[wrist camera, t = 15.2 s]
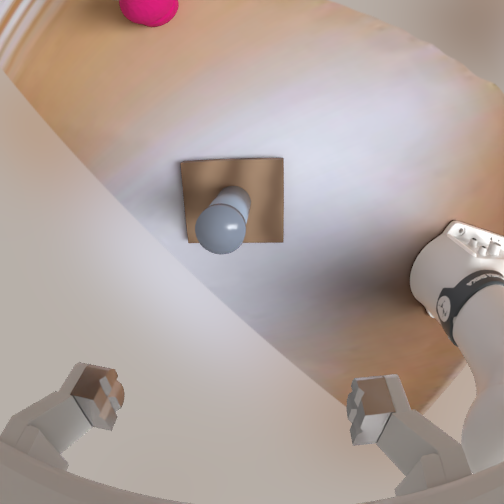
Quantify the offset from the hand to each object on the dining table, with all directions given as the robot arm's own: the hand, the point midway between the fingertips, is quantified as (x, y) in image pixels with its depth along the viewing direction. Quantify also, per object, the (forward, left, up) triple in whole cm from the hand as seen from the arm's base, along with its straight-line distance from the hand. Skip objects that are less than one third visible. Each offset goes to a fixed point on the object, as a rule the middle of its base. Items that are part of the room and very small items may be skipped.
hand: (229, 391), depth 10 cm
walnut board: (+4, +4, -37) cm, 38 cm away
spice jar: (+4, +4, -35) cm, 36 cm away
